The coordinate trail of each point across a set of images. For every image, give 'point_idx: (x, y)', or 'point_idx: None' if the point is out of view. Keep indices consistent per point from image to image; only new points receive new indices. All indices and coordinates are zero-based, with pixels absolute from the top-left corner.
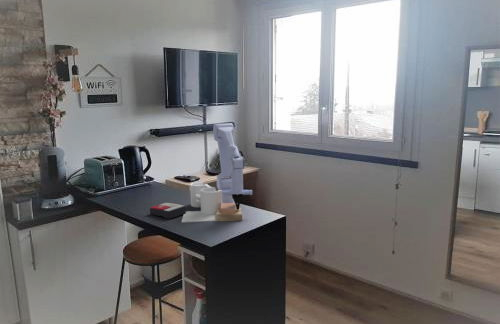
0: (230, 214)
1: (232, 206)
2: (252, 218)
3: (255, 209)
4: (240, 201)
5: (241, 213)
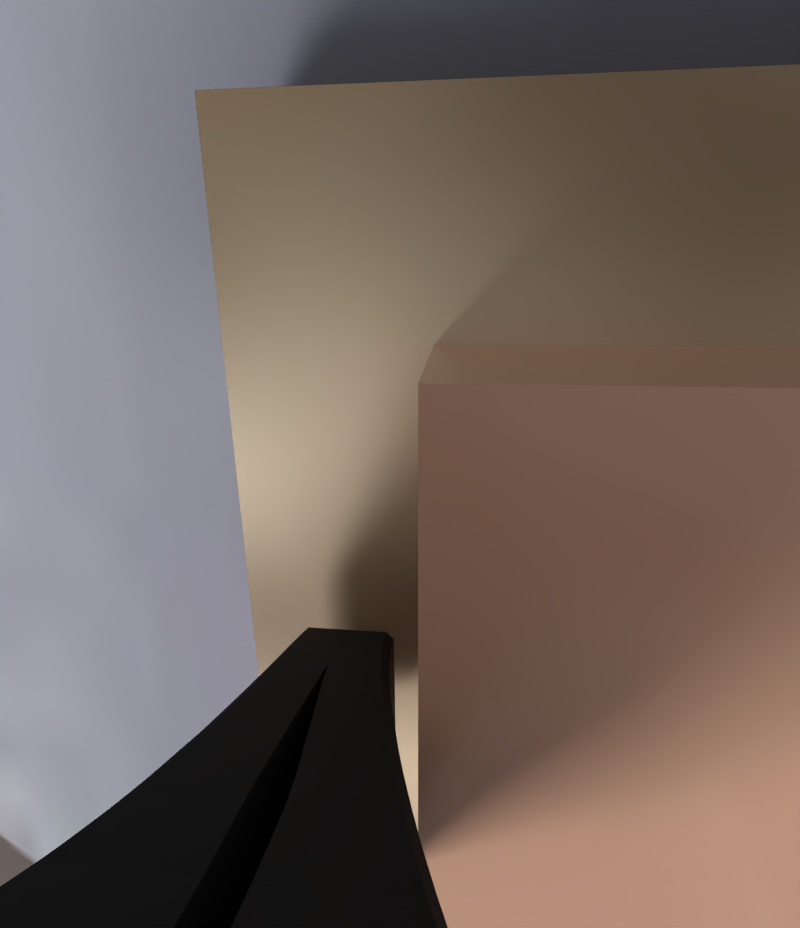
0: (646, 256)
1: (542, 716)
2: (11, 286)
3: (42, 838)
4: (43, 877)
5: (232, 332)
